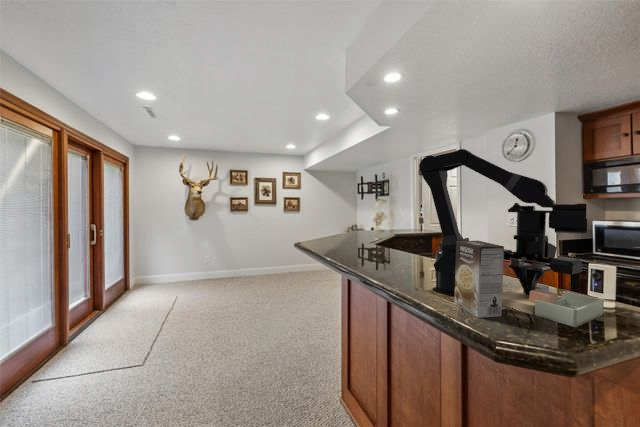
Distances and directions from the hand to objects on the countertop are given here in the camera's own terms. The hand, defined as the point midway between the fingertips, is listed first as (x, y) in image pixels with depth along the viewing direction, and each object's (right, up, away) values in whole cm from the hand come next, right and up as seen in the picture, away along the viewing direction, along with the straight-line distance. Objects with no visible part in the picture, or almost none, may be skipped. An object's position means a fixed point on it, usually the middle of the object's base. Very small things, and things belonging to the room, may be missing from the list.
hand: (528, 295), depth 73 cm
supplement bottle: (-9, -2, +27) cm, 29 cm away
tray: (+6, -3, -5) cm, 8 cm away
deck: (+1, -3, +3) cm, 4 cm away
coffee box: (-14, -3, -2) cm, 14 cm away
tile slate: (+4, -1, +4) cm, 6 cm away
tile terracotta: (+1, -1, -3) cm, 3 cm away
